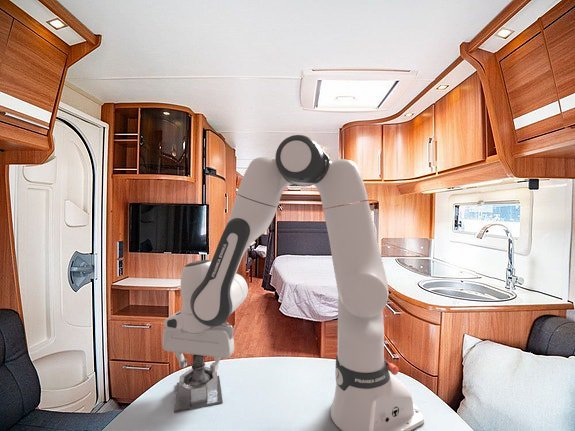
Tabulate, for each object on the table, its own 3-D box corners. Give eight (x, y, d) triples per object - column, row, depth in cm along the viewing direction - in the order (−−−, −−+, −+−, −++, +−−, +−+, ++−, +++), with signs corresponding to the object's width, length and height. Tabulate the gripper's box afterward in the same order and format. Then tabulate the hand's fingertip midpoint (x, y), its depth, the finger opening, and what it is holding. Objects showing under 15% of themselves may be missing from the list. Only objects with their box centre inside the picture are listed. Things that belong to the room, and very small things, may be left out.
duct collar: (219, 377, 89) (219, 362, 88) (222, 403, 77) (222, 386, 77) (176, 384, 85) (176, 369, 85) (174, 412, 74) (173, 394, 73)
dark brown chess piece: (214, 390, 81) (213, 348, 81) (195, 401, 77) (194, 357, 76) (202, 382, 85) (201, 342, 85) (183, 392, 81) (182, 349, 80)
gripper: (237, 318, 81) (238, 366, 82) (172, 312, 86) (173, 358, 86) (228, 327, 75) (228, 380, 75) (158, 320, 79) (159, 370, 80)
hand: (198, 368), depth 81 cm, fingers open, 8 cm apart
